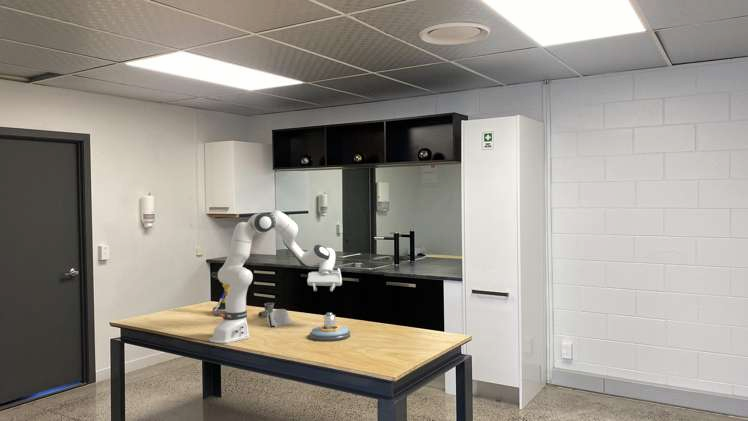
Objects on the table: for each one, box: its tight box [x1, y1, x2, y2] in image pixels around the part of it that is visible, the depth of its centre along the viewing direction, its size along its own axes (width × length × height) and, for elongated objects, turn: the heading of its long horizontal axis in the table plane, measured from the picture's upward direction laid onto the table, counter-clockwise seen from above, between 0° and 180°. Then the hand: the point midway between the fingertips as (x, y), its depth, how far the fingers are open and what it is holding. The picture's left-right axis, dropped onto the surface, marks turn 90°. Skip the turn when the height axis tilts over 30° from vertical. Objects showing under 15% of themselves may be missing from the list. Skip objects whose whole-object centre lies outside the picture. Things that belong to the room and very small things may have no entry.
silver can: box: [323, 312, 336, 330], centre depth 299 cm, size 6×6×9 cm
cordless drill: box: [210, 270, 230, 317], centre depth 368 cm, size 18×19×28 cm
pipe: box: [258, 302, 275, 318], centre depth 355 cm, size 6×13×8 cm, turn 152°
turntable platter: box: [311, 325, 349, 337], centre depth 300 cm, size 20×20×3 cm
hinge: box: [266, 308, 293, 328], centre depth 332 cm, size 17×5×10 cm, turn 151°
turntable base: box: [309, 329, 351, 343], centre depth 300 cm, size 22×22×2 cm
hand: (323, 290), depth 316 cm, fingers open, 8 cm apart
